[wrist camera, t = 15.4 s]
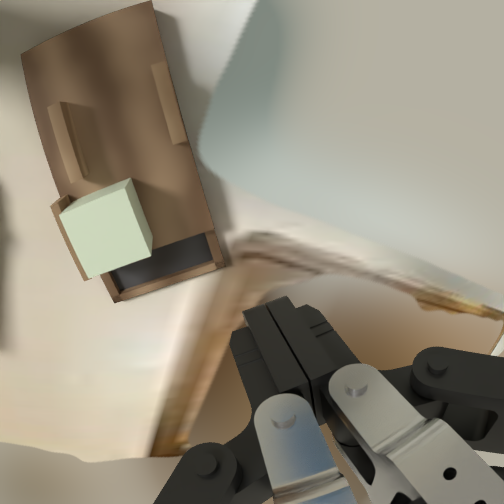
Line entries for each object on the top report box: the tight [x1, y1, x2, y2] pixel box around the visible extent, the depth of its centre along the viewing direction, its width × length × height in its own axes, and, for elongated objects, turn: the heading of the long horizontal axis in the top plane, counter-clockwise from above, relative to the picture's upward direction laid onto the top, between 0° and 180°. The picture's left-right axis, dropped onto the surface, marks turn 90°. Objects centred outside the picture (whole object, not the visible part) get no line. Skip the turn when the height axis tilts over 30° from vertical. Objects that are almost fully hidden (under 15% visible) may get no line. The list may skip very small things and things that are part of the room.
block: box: [59, 178, 153, 279], centre depth 25 cm, size 6×6×4 cm
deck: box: [21, 0, 225, 303], centre depth 25 cm, size 13×28×6 cm, turn 14°
